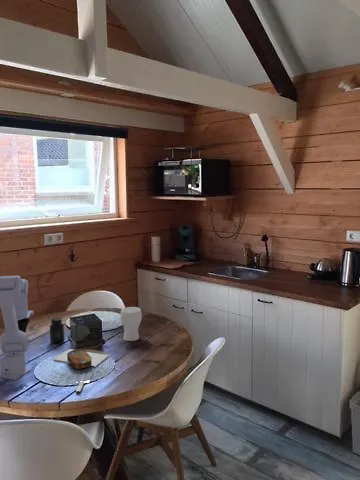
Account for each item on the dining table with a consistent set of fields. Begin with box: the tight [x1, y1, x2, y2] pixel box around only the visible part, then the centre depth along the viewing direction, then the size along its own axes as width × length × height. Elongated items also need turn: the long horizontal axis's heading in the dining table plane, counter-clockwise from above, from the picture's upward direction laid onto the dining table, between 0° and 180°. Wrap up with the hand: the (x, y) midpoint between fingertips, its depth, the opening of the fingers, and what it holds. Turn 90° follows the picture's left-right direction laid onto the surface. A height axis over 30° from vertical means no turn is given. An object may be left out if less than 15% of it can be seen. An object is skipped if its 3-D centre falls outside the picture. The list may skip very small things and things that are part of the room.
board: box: [53, 348, 110, 368], centre depth 189 cm, size 12×21×1 cm, turn 71°
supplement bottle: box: [49, 316, 66, 345], centre depth 206 cm, size 7×7×12 cm
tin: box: [67, 349, 92, 370], centre depth 184 cm, size 15×3×8 cm
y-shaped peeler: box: [75, 380, 91, 395], centre depth 166 cm, size 17×5×1 cm, turn 1°
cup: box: [119, 306, 143, 342], centre depth 212 cm, size 11×11×15 cm
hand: (22, 335), depth 188 cm, fingers closed
